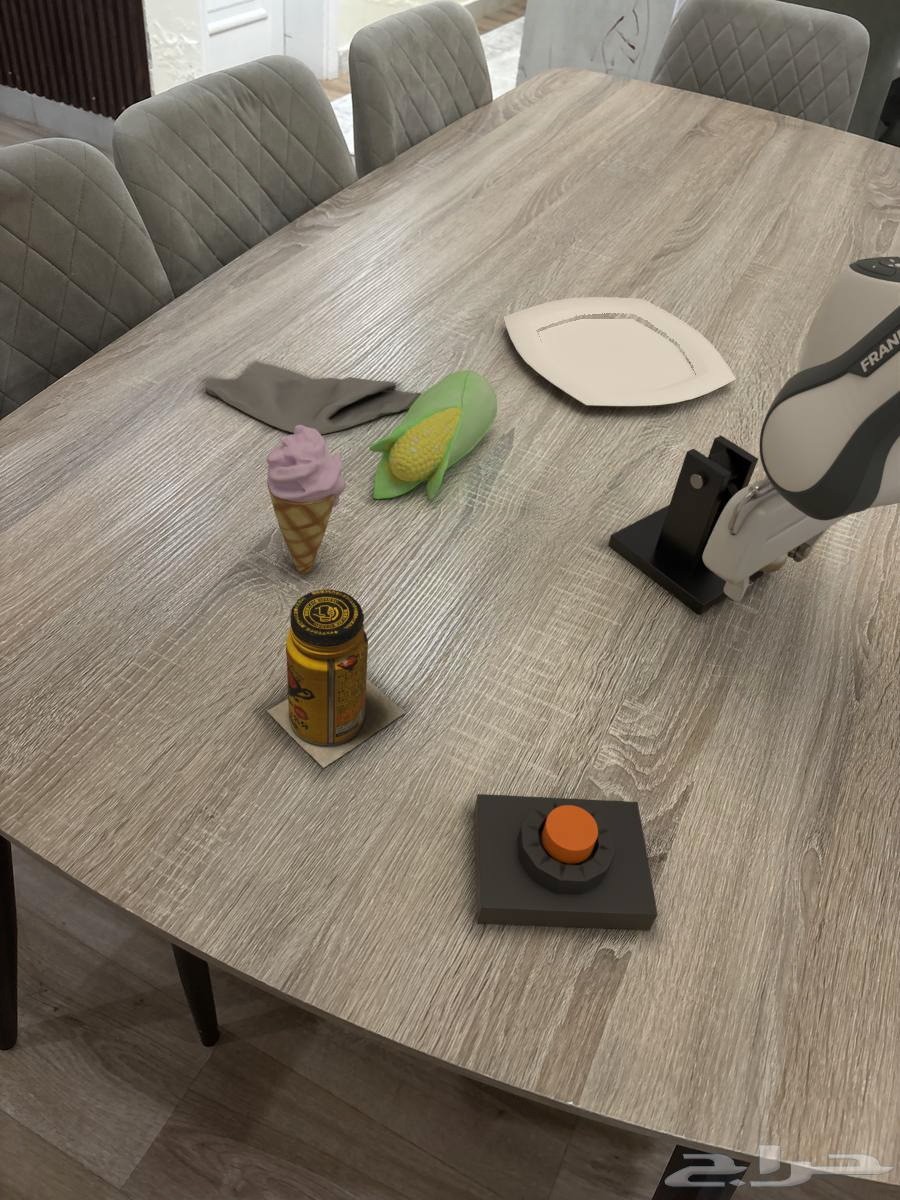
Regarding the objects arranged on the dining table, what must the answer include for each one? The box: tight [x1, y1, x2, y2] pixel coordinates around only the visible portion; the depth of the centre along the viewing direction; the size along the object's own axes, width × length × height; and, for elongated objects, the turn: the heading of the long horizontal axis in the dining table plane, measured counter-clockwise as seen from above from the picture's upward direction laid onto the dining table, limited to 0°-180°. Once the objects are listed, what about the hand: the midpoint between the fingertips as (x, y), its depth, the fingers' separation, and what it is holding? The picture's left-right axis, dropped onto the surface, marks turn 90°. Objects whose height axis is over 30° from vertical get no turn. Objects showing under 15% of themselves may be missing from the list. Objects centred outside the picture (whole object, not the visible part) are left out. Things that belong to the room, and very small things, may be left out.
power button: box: [542, 805, 598, 864], centre depth 64 cm, size 4×4×2 cm
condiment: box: [266, 589, 406, 769], centre depth 72 cm, size 7×8×12 cm
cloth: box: [204, 361, 422, 435], centre depth 107 cm, size 26×14×2 cm, turn 81°
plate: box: [503, 296, 737, 408], centre depth 121 cm, size 27×27×2 cm
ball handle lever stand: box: [607, 435, 765, 616], centre depth 89 cm, size 12×10×13 cm
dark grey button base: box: [473, 793, 658, 931], centre depth 66 cm, size 12×9×4 cm
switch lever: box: [707, 449, 789, 574], centre depth 86 cm, size 12×3×3 cm, turn 39°
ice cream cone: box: [266, 425, 347, 575], centre depth 83 cm, size 7×6×15 cm
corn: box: [369, 369, 498, 500], centre depth 100 cm, size 8×8×20 cm
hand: (766, 575), depth 87 cm, fingers open, 8 cm apart
